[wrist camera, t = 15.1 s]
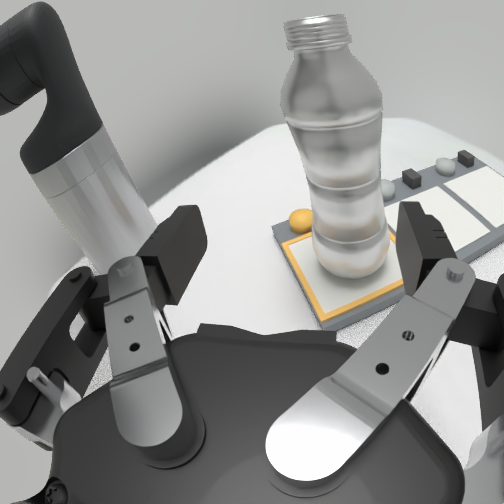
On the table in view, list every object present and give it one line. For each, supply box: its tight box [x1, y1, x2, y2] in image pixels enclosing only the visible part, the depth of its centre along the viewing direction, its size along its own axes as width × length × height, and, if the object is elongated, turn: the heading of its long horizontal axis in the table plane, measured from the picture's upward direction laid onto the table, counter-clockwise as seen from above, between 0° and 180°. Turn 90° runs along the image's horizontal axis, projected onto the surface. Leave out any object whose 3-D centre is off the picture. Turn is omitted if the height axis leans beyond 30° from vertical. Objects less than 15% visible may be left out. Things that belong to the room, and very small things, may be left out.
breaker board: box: [272, 150, 504, 331], centre depth 29 cm, size 30×14×3 cm, turn 105°
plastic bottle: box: [280, 14, 390, 279], centre depth 20 cm, size 6×7×20 cm
